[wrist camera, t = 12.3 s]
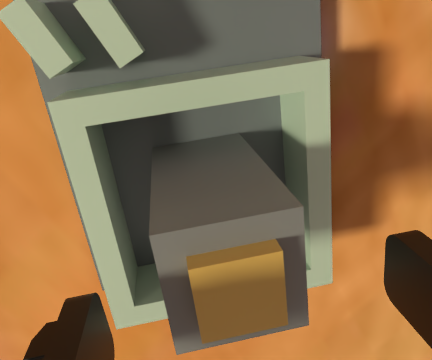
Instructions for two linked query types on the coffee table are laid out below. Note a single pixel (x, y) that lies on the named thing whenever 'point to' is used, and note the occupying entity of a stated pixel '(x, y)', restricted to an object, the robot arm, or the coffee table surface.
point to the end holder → (180, 101)
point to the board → (163, 74)
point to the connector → (225, 243)
